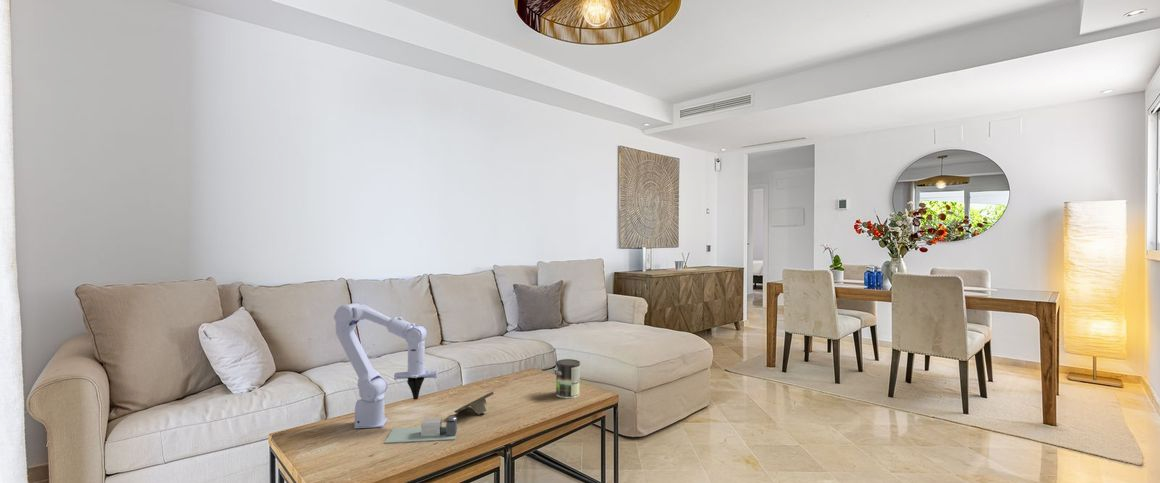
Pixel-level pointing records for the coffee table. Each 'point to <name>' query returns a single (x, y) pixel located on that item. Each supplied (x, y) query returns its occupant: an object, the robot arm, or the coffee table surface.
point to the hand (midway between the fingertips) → (415, 398)
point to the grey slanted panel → (477, 404)
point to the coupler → (450, 426)
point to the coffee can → (567, 378)
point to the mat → (413, 436)
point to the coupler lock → (431, 427)
